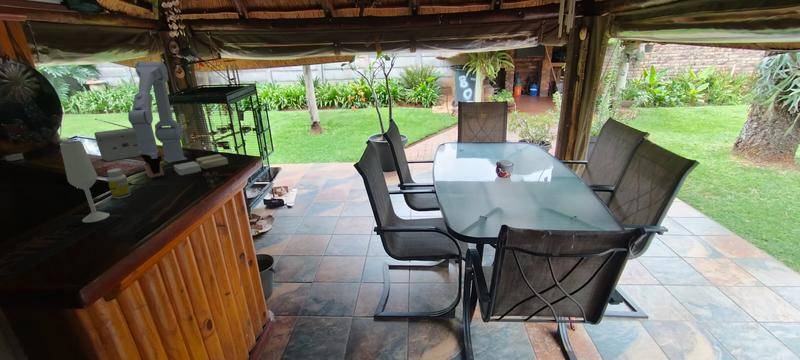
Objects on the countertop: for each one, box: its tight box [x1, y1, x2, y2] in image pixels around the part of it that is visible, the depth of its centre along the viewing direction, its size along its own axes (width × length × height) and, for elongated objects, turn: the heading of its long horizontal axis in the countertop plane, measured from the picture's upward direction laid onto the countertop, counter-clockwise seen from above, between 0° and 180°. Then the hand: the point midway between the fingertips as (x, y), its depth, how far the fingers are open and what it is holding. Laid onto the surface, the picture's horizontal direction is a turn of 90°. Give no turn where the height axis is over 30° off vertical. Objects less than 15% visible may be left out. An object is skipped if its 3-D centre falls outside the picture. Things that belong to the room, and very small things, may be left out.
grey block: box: [173, 161, 202, 176], centre depth 151 cm, size 8×8×3 cm
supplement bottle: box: [106, 167, 132, 200], centre depth 124 cm, size 5×5×10 cm
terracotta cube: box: [143, 162, 165, 179], centre depth 146 cm, size 5×5×5 cm
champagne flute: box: [59, 140, 110, 223], centre depth 106 cm, size 7×7×24 cm
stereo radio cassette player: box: [94, 118, 141, 163], centre depth 167 cm, size 21×8×20 cm, turn 133°
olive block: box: [195, 153, 229, 170], centre depth 160 cm, size 10×10×3 cm
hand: (154, 171), depth 146 cm, fingers closed on terracotta cube, 5 cm apart
